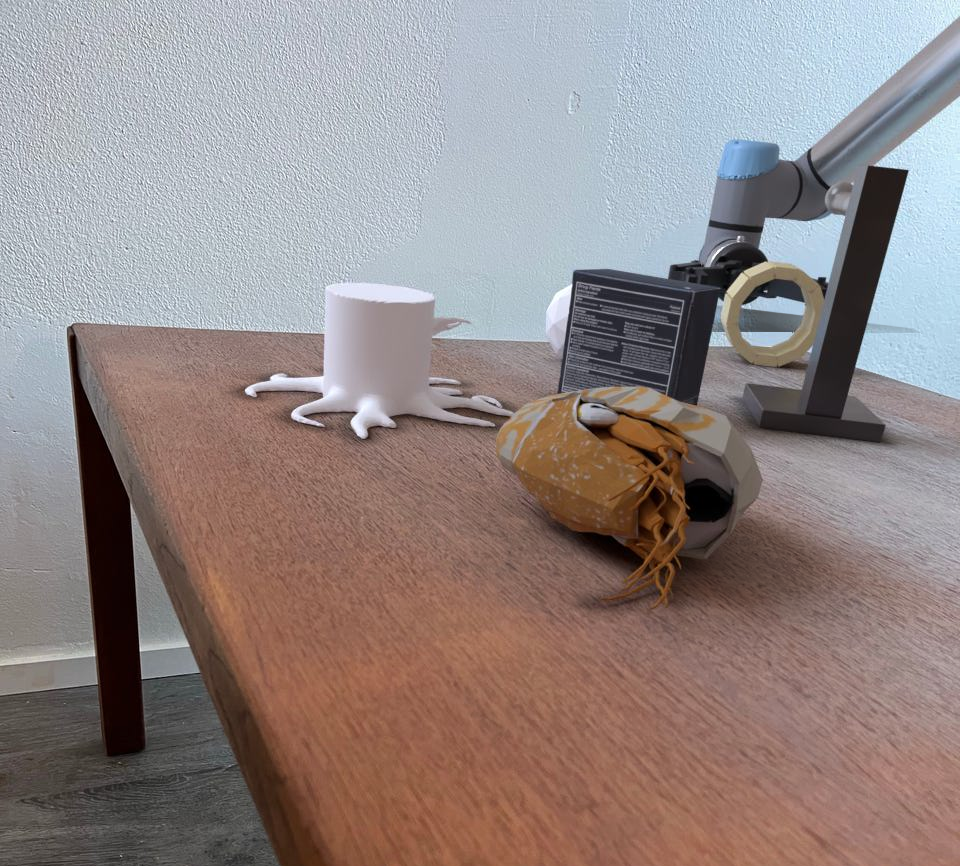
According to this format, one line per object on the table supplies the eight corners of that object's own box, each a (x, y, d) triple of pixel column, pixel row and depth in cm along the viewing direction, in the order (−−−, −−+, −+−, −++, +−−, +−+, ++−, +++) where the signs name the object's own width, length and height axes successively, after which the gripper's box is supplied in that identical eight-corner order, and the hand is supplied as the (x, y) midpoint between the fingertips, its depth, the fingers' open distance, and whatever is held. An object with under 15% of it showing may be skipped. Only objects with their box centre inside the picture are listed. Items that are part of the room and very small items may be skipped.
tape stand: (841, 402, 93) (904, 169, 84) (880, 442, 81) (959, 175, 72) (736, 389, 94) (787, 156, 84) (759, 427, 81) (821, 160, 72)
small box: (699, 416, 83) (725, 285, 78) (669, 429, 78) (696, 291, 73) (587, 389, 87) (606, 264, 83) (552, 400, 82) (570, 268, 78)
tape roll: (802, 362, 110) (826, 267, 105) (811, 371, 105) (836, 273, 101) (713, 351, 110) (732, 256, 105) (718, 360, 106) (739, 261, 101)
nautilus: (773, 665, 45) (447, 629, 46) (739, 490, 63) (506, 468, 65) (809, 502, 41) (451, 469, 42) (762, 366, 59) (513, 346, 61)
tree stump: (544, 431, 74) (559, 320, 70) (292, 441, 65) (293, 315, 62) (436, 367, 89) (443, 273, 85) (221, 369, 81) (218, 264, 77)
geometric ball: (592, 388, 100) (649, 328, 98) (570, 371, 93) (631, 306, 90) (543, 337, 102) (598, 277, 100) (518, 317, 94) (577, 251, 92)
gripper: (648, 231, 130) (658, 247, 111) (838, 253, 129) (881, 273, 110) (638, 290, 133) (647, 316, 114) (823, 312, 132) (863, 341, 113)
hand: (762, 295), depth 112 cm, fingers open, 13 cm apart
